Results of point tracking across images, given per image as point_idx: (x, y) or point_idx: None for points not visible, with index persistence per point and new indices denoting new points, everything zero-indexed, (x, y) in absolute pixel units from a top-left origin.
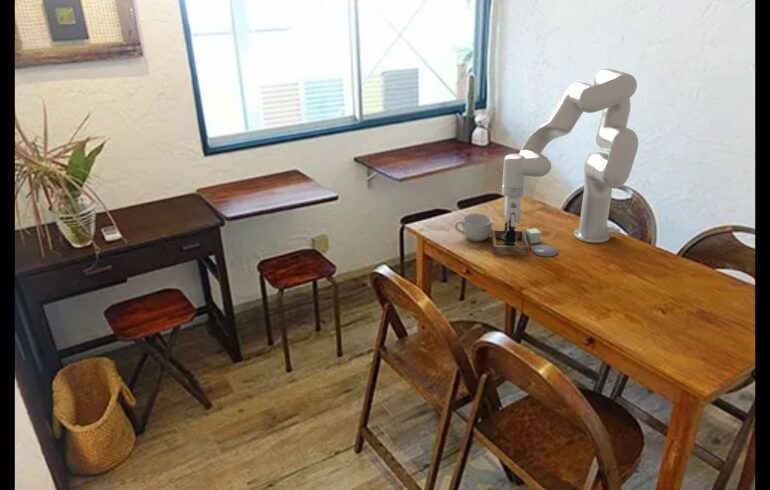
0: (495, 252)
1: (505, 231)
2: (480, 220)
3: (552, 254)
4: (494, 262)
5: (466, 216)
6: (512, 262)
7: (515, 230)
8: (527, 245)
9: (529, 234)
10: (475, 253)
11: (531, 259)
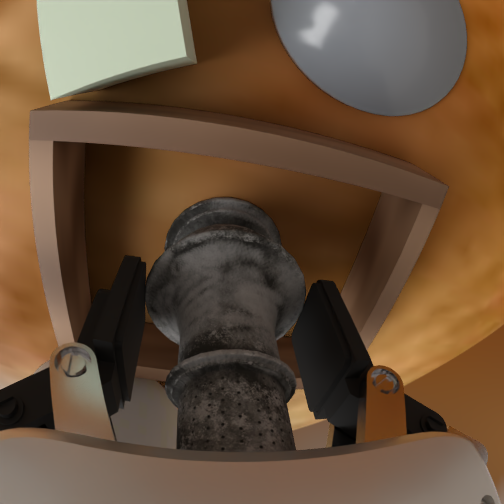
0: None
1: (142, 335)
2: None
3: (460, 12)
4: (405, 348)
5: None
6: (444, 279)
7: (401, 381)
8: (418, 183)
9: (148, 68)
10: (293, 402)
11: (460, 167)
